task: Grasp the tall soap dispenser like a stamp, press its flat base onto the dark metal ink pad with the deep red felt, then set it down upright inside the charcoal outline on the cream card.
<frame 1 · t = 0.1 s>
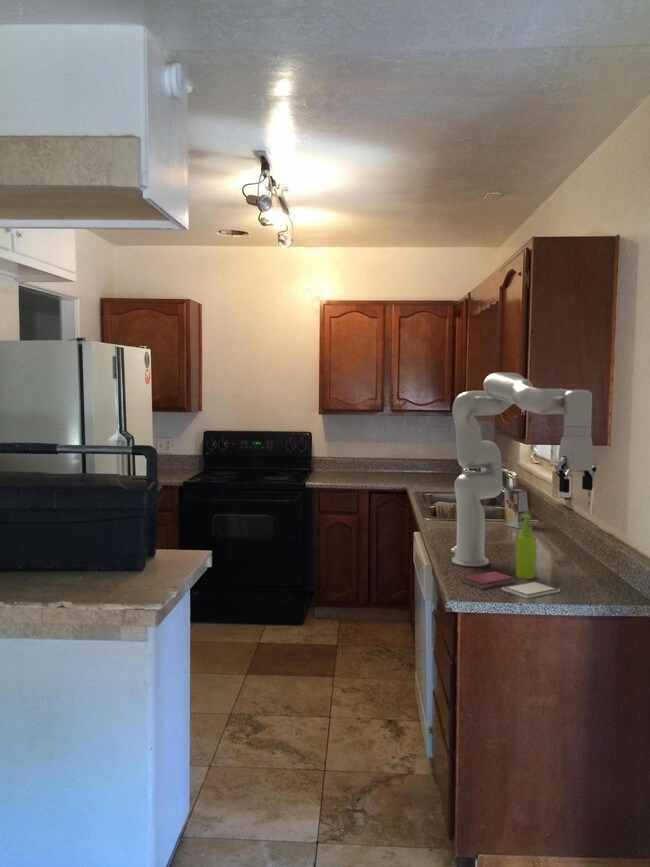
hand: (575, 490, 205), 31 cm above the worktop, fingers open, 9 cm apart
coffee box: (516, 526, 310), on the worktop
ink pad: (488, 582, 221), on the worktop
marked card: (530, 590, 212), on the worktop
soap dispenser: (525, 576, 229), on the worktop
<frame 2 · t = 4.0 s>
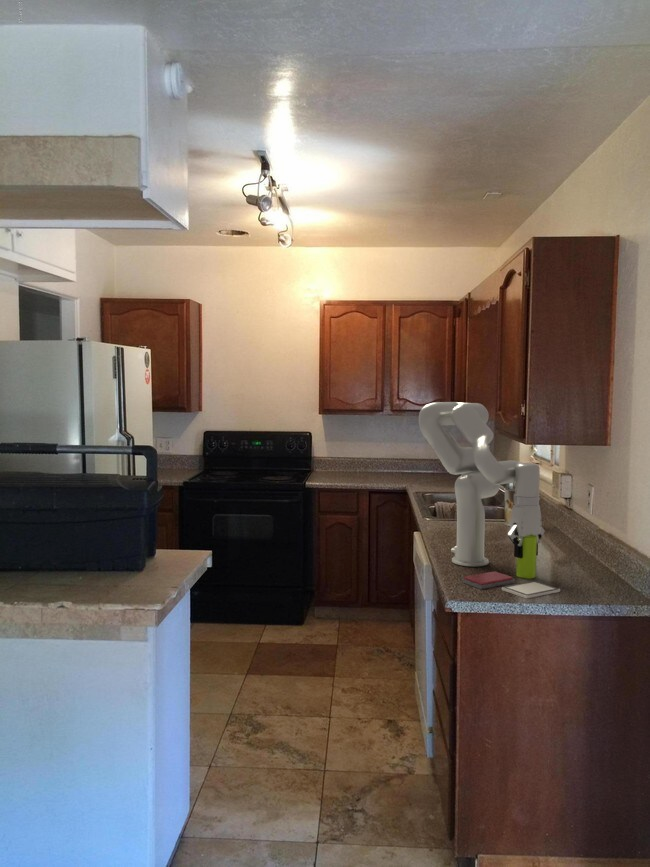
hand: (525, 555, 228), 7 cm above the worktop, fingers closed on soap dispenser, 6 cm apart
soap dispenser: (525, 576, 229), on the worktop, touching gripper
everything else where it was.
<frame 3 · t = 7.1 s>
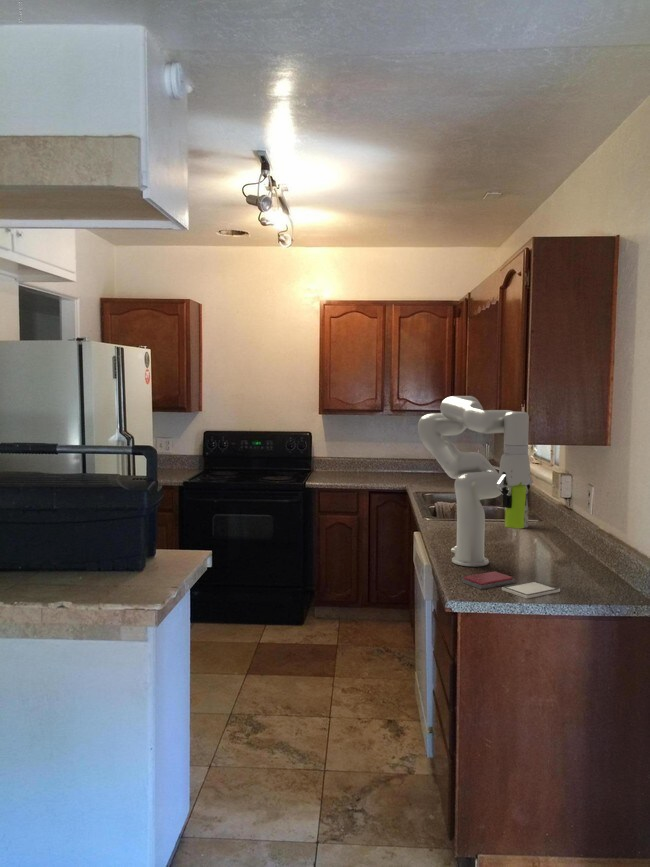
hand: (514, 506, 225), 23 cm above the worktop, fingers closed on soap dispenser, 6 cm apart
soap dispenser: (513, 527, 225), point 17 cm above the worktop, touching gripper
everything else where it was.
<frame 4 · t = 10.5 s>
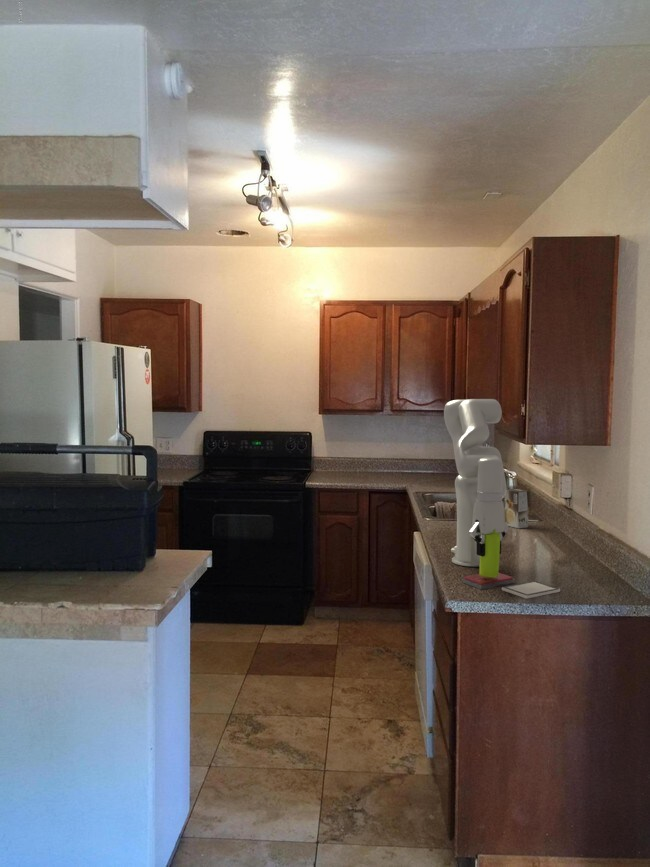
hand: (488, 553, 220), 9 cm above the worktop, fingers closed on soap dispenser, 6 cm apart
soap dispenser: (488, 575, 221), point 2 cm above the worktop, touching gripper
everything else where it was.
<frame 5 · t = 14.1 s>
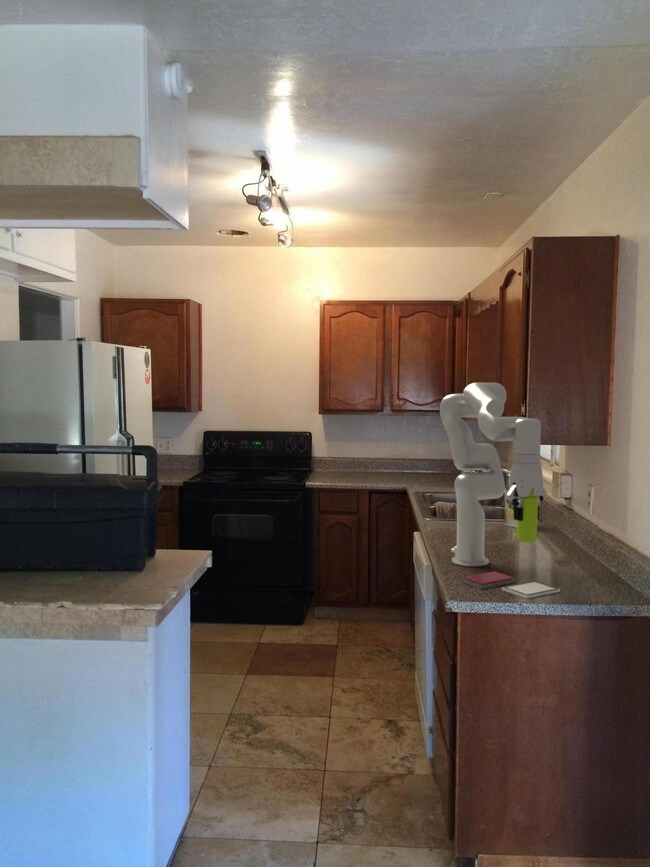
hand: (526, 518, 212), 22 cm above the worktop, fingers closed on soap dispenser, 5 cm apart
soap dispenser: (525, 540, 212), point 15 cm above the worktop, touching gripper
everything else where it was.
when the fingers open (9 cm above the worktop, at t = 17.2 s): soap dispenser drops 1 cm, resting on marked card.
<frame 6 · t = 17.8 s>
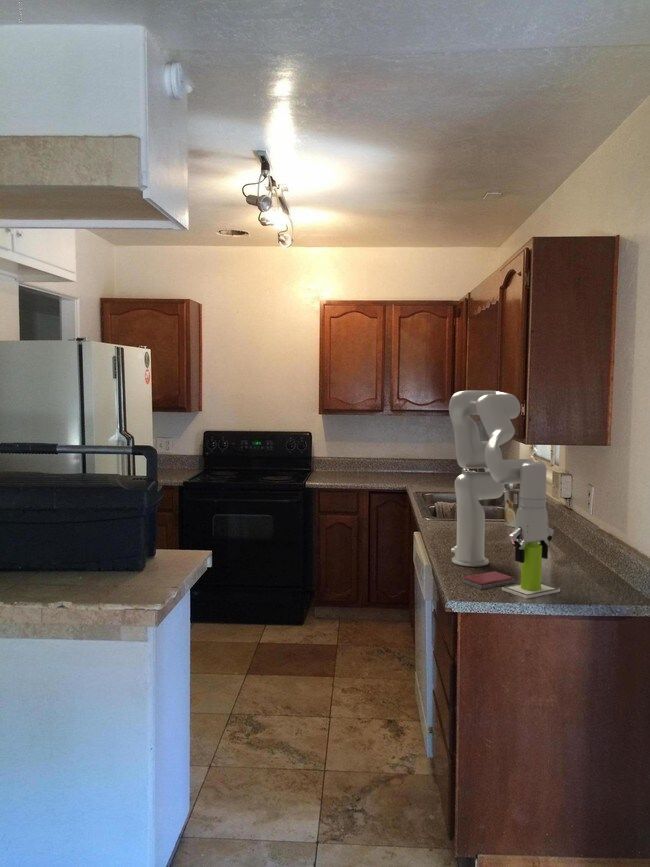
hand: (531, 559, 211), 10 cm above the worktop, fingers open, 9 cm apart
soap dispenser: (530, 588, 213), point 1 cm above the worktop, touching marked card
everything else where it was.
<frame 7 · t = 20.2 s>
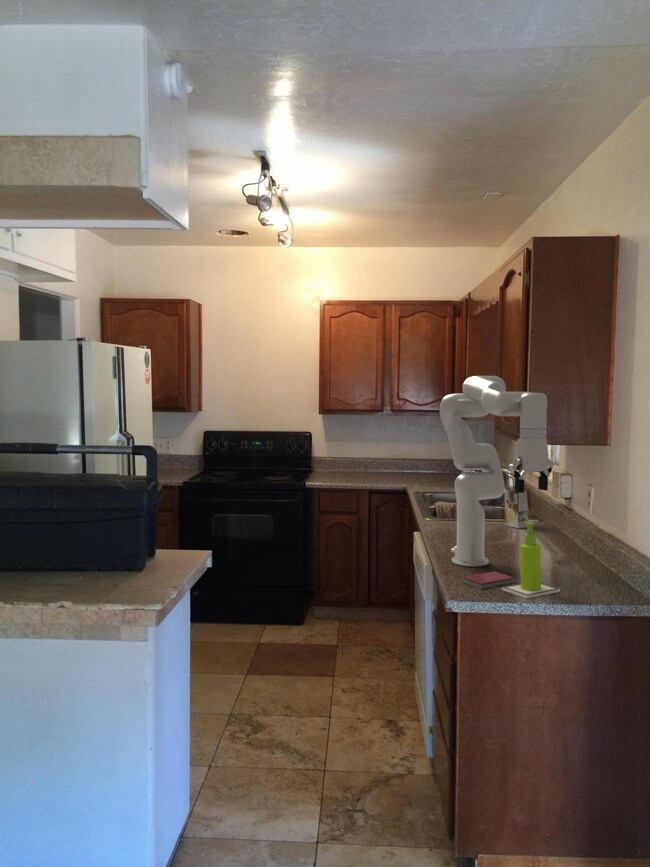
hand: (531, 491, 211), 30 cm above the worktop, fingers open, 9 cm apart
nothing on the worktop moved.
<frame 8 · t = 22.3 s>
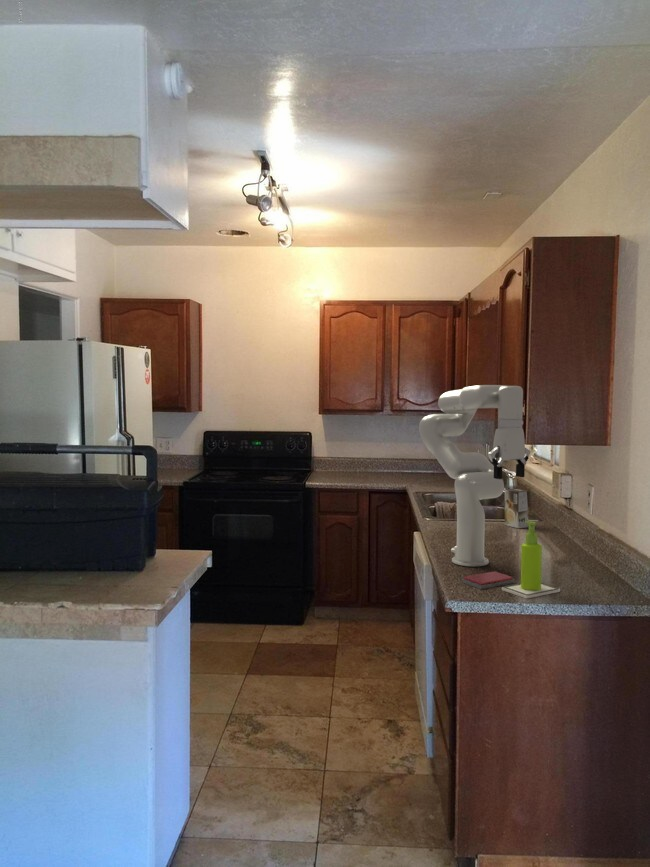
hand: (509, 477, 225), 32 cm above the worktop, fingers open, 9 cm apart
nothing on the worktop moved.
at the end: soap dispenser 0.6 cm off-centre on the marked card, point 0.7 cm above the marked card's base; soap dispenser tilted 2°; the gripper is holding nothing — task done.
